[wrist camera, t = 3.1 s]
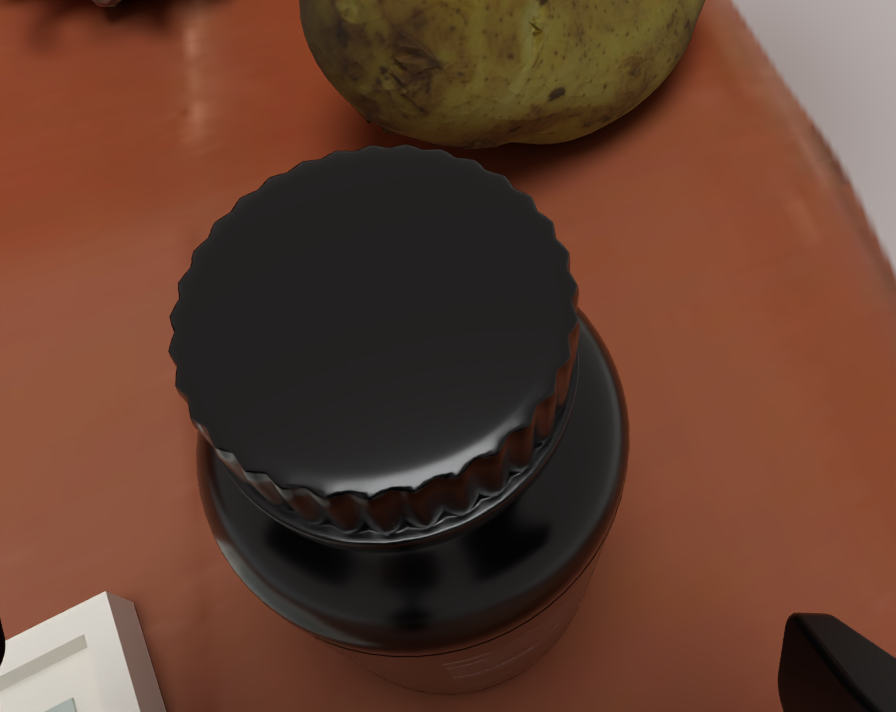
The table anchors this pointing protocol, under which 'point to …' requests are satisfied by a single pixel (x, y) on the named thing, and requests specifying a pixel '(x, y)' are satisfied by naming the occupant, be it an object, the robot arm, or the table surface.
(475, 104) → the potato
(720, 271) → the table surface
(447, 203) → the supplement bottle
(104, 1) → the dragon fruit
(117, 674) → the cream ceramic dish
